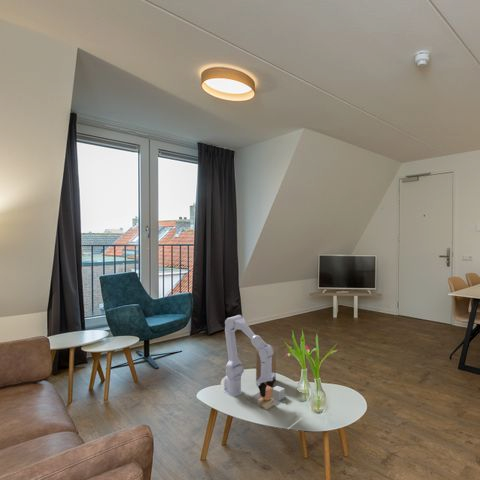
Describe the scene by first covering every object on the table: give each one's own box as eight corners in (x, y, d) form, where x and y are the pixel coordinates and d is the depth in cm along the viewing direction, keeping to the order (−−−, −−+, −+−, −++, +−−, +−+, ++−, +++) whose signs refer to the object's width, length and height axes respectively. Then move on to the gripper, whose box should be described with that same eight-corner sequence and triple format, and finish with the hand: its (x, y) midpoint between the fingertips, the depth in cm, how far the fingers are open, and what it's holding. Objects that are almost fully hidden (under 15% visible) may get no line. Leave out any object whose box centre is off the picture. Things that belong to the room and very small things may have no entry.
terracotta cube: (259, 397, 170) (259, 387, 170) (265, 393, 174) (265, 384, 174) (266, 400, 167) (267, 390, 167) (272, 396, 171) (272, 387, 171)
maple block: (257, 405, 170) (257, 399, 170) (264, 400, 175) (264, 395, 175) (266, 409, 166) (266, 403, 166) (273, 404, 171) (273, 399, 171)
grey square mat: (245, 400, 176) (245, 399, 176) (265, 389, 189) (265, 388, 189) (268, 411, 165) (268, 410, 165) (288, 398, 178) (288, 397, 178)
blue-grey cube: (271, 397, 179) (271, 388, 179) (277, 394, 182) (277, 385, 182) (279, 400, 175) (279, 391, 175) (284, 397, 179) (284, 388, 179)
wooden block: (255, 384, 196) (255, 351, 195) (260, 377, 205) (261, 346, 205) (271, 387, 192) (271, 353, 192) (276, 380, 201) (276, 348, 201)
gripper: (263, 375, 162) (263, 402, 162) (280, 367, 173) (280, 392, 173) (252, 371, 167) (252, 397, 167) (269, 363, 178) (269, 387, 178)
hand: (266, 394), depth 171 cm, fingers closed on terracotta cube, 5 cm apart
